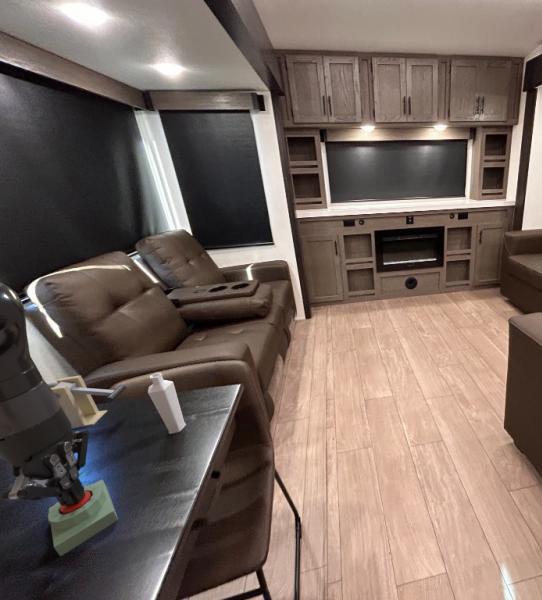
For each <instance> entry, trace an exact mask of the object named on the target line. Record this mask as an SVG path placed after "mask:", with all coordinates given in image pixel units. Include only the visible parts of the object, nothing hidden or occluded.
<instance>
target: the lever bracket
mask: <svg viewBox="0 0 542 600" xmlns="http://www.w3.org/2000/svg"><path fill="white" fill-rule="evenodd" d="M56 382H57V385H58V384H59V383H61V382H69V383H76V387H81V388H88V387H87V385H86V382H85V381H84V379H83V377H82V375H75V376H67V377H61V378H58V379H57V380H56ZM50 388H51V389H52V391H53V392H54V394H55V396H56V398H57V399H58V401H59V403H60V405H61V406H62V408H63V410H64V412H65V414H66V415H67V417H68V419H69V421H70V423H71V425H72V427H71V430H72V429H78V428H85V427H88V426H94V425H95V424H96V423H97V422H98V421H99V420H100V419H101V418H103V416H104V415H105V414H106V413H107V412H108V410H107V409H104V410H99V409H98V407H97V405H96V402H95V401H94V399H93V397H92V395H89V394H76V393H74V394H73V395H72V393H71V391H70V389H69V388H68V386H67V385H66V386H60V387H55V386H53V387H50Z"/></svg>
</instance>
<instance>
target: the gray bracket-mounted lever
mask: <svg viewBox="0 0 542 600" xmlns="http://www.w3.org/2000/svg"><path fill="white" fill-rule="evenodd" d="M66 385H67V386H68V388H69V389H70V391H71V393H72V395H73V394H74V393H76V394H89V395H91V396H104V397H105V402H107V403H112V402H114V400H115V399H117V397H119V396H120V395H121V394H122V393H123V392H124V391H125V390H126V389H127V386H126V385H124V384H120V385H118V386H117V387H116V388H115V389H105V388H104V389H103V388H94V387H93V388H91V387H87V388H81V387H76V383H69V382H61V383H59V384H58V383H57V385H55V386H54V387H60V386H66Z"/></svg>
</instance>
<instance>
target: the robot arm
mask: <svg viewBox="0 0 542 600" xmlns="http://www.w3.org/2000/svg"><path fill="white" fill-rule="evenodd" d="M51 388H52V387H50V385H49V384H48V383H47V382H46V381H45V379H44V377H43V376H42V373H41V372H40V370H39V369H38V366H37V365H36V363H35V362H34V360H33V358H32V356H31V353H30V345H29V338H28V331H27V318H26V311H25V306H24V304H23V301H22V300H21V298H20V297H19V294H17V292H16V291H15V290H13V289H12V288H11V287H10V286H8V285H7V284H5V283H3V282H1V281H0V459H1V460H3V461H4V462H6V463H8V464H10V466H11V475H12V477H14V478H15V480H14V483H13V485H12V487H11V489H8V490H6V491H4V493H3V494H2V500H3V501H39V500H43V499H48V498H56V500H57V502H60V505H62V506H70V505H75V504H78V503H79V502H80V501H81V499H82V498H83V497H84V496H85V492H84V485H83V483H82V481H81V480H80V478H79V477H80V472H79V471H80V470H81V469H82V468H84V467H85V466H86V463H87V456H88V455H87V453H88V444H89V435H90V431H89V429H82V430H76V431H73V430H72V429H71V427H72V425H71V423H70V421H69V419H68V417H67V415H66V414H65V412H64V410H63V408H62V406H61V405H60V403H59V401H58V399H57V398H56V396H55V394H54V392H53V391H52V389H51ZM75 454H77V457H76V456H75ZM31 480H33V481H31ZM38 485H41V486H38Z"/></svg>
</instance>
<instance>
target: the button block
mask: <svg viewBox="0 0 542 600" xmlns="http://www.w3.org/2000/svg"><path fill="white" fill-rule="evenodd" d="M83 487H84V491H88V492H90V494H91V496H92V497H91V499H90V500H89V501H88V502H87V503H86V504H85V505H84V506H83V507H81V508H79V509H78V510H76V511H74V512H72V513H68V514H65V515H63V514H62V512H61V511H60V508H61V506H62V505H60V502H59V501H57V502H56V503H55V504H53V506H50V507H49V508H48V513H47V519H48V520H47V521H48V523H49V524H50V528H51V535H52V543H53V548H54V550H55V551H56V553H57V555H58V556H59V557H62V556H64V555H65V554H67V553H68V552H70V551H71V550H73V549H74V548H77V547H78V546H80V545H81V544H82V543H84V542H86V541H87V540H89V539H90V538H92V537H94V536H95V535H97V534H98V533H100V532H101V531H103V530H105V529H106V528H108V527H110V526H111V525H112V524H114V523H116V522H118V521H119V518H118V515H117V512H116V509H115V506H114V503H113V501H112V498H111V496H110V491H109V490H108V487H107V485H106V483H105V481H104V480H103V479H100V480H98V481H95V482H94V483H92V484H88V485H85V486H84V485H83Z"/></svg>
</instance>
